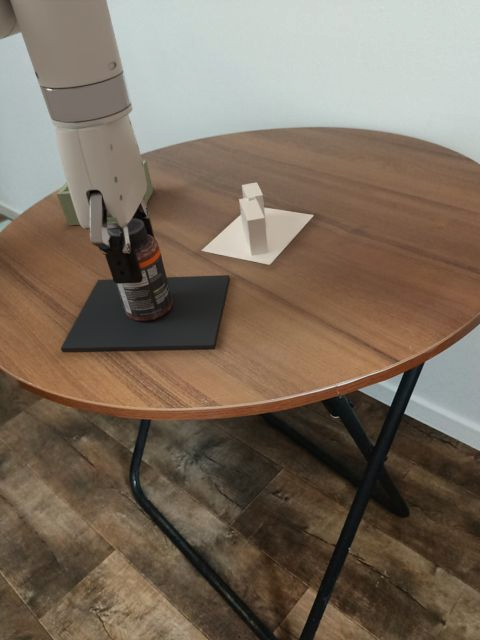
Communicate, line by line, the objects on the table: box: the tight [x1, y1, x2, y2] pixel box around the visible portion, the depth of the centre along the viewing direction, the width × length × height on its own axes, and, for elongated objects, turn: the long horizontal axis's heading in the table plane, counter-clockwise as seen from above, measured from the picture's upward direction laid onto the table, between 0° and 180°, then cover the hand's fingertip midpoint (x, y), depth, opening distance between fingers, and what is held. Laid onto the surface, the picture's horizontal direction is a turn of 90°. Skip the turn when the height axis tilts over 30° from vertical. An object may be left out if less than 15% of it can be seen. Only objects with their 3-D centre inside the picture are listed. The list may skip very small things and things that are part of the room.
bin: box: [56, 159, 154, 227], centre depth 87 cm, size 12×12×6 cm
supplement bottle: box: [108, 218, 173, 321], centre depth 60 cm, size 6×6×11 cm
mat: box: [60, 274, 231, 353], centre depth 64 cm, size 18×14×1 cm
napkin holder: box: [200, 182, 315, 266], centre depth 75 cm, size 15×11×6 cm
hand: (136, 264), depth 60 cm, fingers closed on supplement bottle, 5 cm apart
